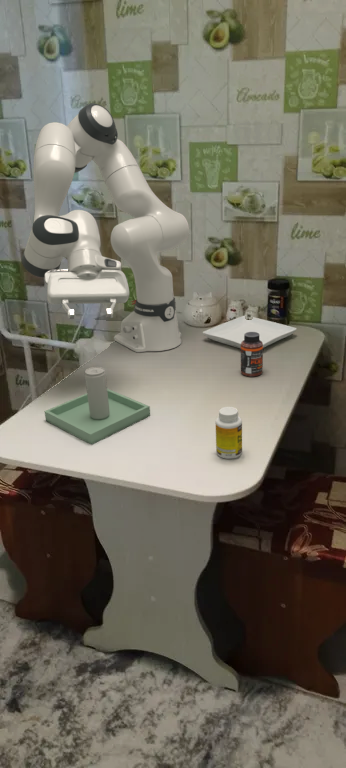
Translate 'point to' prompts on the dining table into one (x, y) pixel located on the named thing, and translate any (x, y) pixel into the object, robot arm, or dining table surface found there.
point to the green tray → (83, 426)
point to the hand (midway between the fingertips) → (90, 317)
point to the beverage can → (97, 393)
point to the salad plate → (238, 327)
